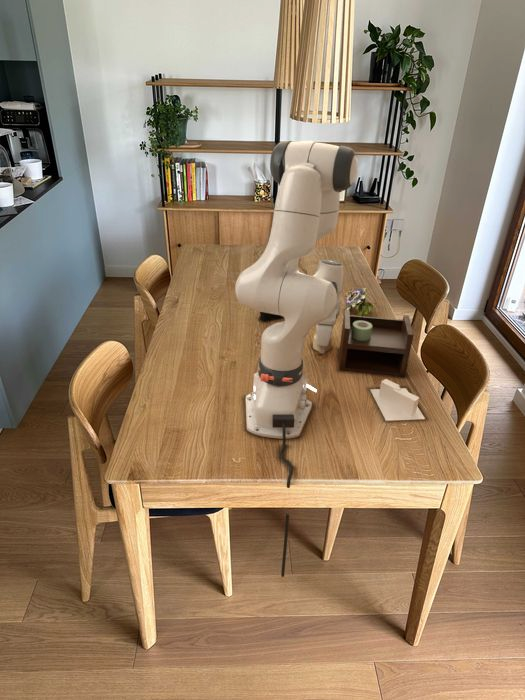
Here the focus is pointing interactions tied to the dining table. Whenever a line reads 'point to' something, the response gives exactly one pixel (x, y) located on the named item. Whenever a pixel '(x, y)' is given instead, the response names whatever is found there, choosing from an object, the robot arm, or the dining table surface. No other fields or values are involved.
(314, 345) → the cream tape roll
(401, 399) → the napkin holder
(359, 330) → the sage tape roll
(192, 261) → the dining table surface
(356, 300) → the passion flower
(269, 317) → the film camera
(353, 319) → the shelf
